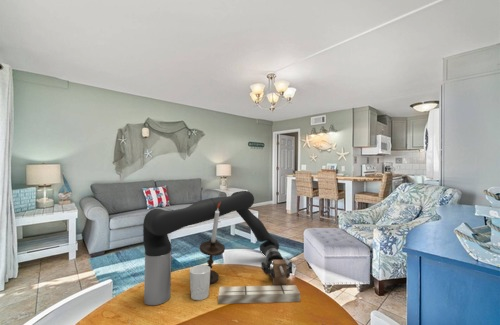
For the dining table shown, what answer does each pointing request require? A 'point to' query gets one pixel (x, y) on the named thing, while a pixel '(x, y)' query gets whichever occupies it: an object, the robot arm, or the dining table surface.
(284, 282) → the upright wooden pillar
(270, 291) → the batten
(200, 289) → the white cup
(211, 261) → the candlestick
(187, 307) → the dining table surface
